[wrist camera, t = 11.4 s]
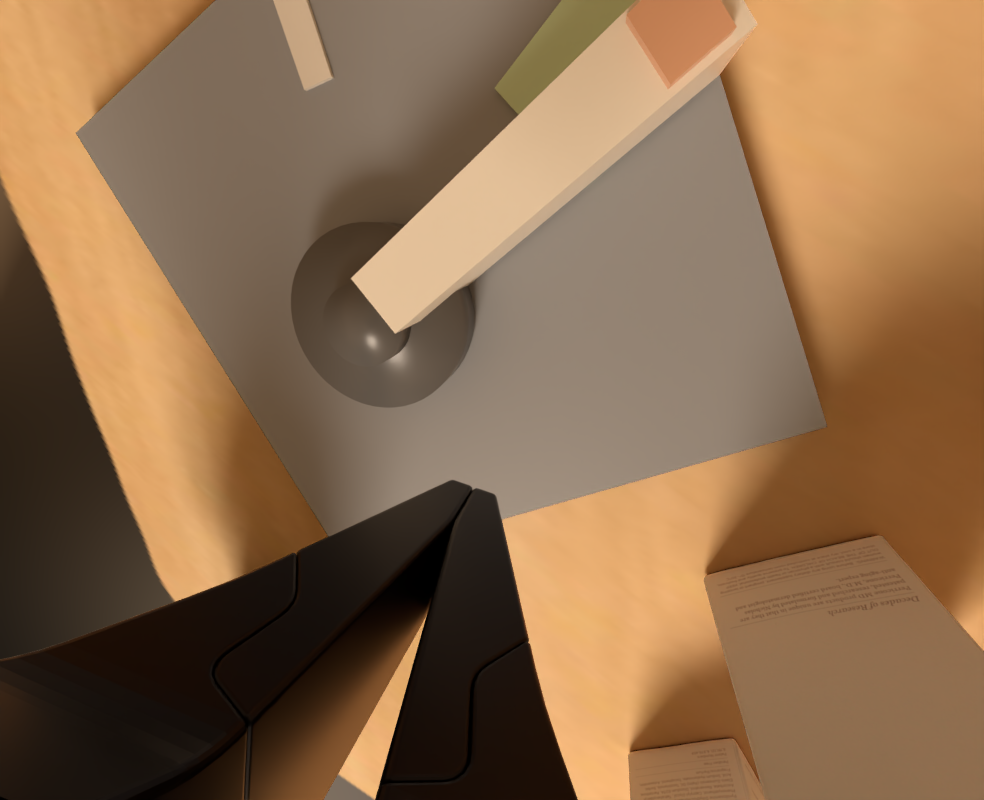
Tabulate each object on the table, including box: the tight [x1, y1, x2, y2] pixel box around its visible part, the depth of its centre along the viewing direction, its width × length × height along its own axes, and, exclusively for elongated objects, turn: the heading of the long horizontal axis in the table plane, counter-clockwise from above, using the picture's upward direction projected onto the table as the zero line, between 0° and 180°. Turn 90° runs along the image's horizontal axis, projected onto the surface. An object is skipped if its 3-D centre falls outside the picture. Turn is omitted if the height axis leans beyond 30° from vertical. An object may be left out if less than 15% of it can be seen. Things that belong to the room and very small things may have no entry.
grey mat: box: [76, 0, 827, 537], centre depth 19 cm, size 23×23×1 cm
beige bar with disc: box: [291, 0, 757, 408], centre depth 15 cm, size 17×7×4 cm, turn 130°
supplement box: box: [704, 535, 984, 800], centre depth 15 cm, size 7×7×13 cm
